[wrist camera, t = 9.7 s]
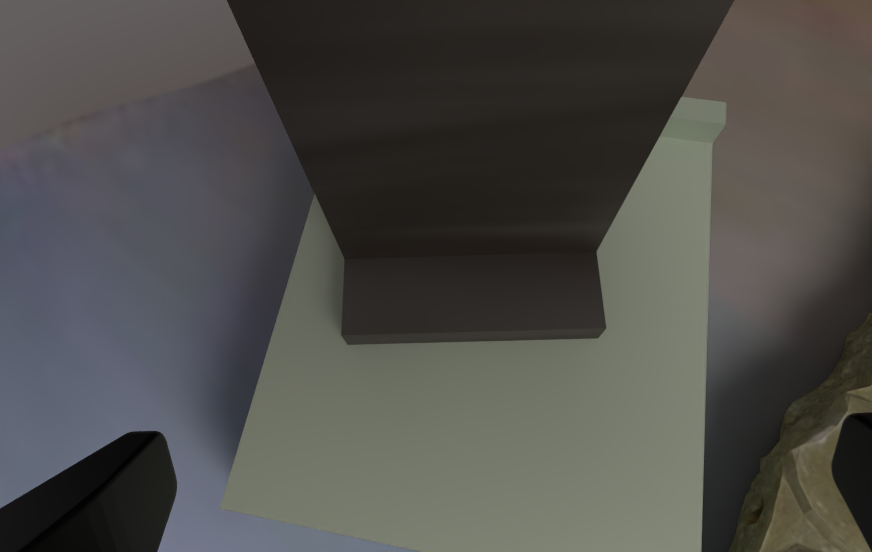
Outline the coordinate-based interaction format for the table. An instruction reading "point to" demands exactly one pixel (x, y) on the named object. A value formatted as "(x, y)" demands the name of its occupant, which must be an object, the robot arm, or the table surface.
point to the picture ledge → (503, 399)
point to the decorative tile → (810, 466)
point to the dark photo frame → (474, 148)
